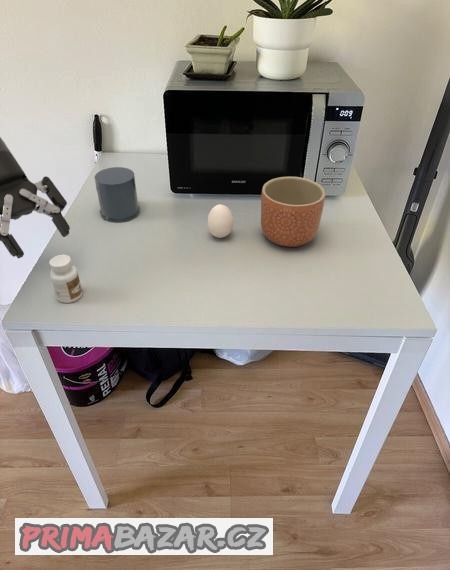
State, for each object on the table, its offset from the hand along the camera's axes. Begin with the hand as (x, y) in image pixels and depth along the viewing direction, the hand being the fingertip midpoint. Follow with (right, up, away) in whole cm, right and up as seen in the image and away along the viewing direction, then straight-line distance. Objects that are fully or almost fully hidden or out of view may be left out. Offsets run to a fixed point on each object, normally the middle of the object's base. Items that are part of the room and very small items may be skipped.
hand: (44, 245), depth 75 cm
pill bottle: (+3, -9, +4) cm, 10 cm away
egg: (+29, +3, +19) cm, 35 cm away
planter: (+44, +3, +19) cm, 48 cm away
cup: (+7, +10, +26) cm, 29 cm away
